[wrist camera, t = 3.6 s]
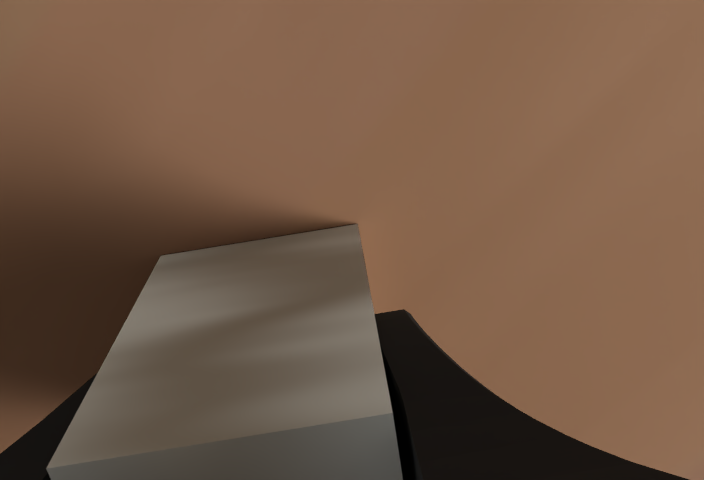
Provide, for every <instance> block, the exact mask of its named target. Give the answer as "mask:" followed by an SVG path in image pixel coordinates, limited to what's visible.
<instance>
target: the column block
mask: <svg viewBox="0 0 704 480" xmlns="http://www.w3.org/2000/svg"><path fill="white" fill-rule="evenodd" d="M46 469H47V471H48V474H49V476H50V478H51V480H403V477H402V470H401V464H400V457H399V451H398V444H397V438H396V431H395V425H394V418H393V412H392V407H391V401H390V396H389V390H388V385H387V380H386V374H385V369H384V363H383V358H382V353H381V347H380V342H379V336H378V331H377V326H376V320H375V315H374V310H373V304H372V299H371V293H370V288H369V283H368V277H367V272H366V266H365V261H364V256H363V250H362V245H361V239H360V234H359V229H358V224H354V225H348V226H342V227H336V228H330V229H323V230H317V231H311V232H305V233H299V234H292V235H286V236H280V237H274V238H268V239H261V240H255V241H249V242H243V243H237V244H231V245H224V246H218V247H212V248H206V249H200V250H193V251H187V252H181V253H175V254H169V255H163V256H160V258H159V260H158V262H157V264H156V265H155V267H154V269H153V271H152V273H151V275H150V277H149V278H148V280H147V282H146V284H145V286H144V288H143V290H142V291H141V293H140V295H139V297H138V299H137V301H136V303H135V304H134V306H133V308H132V310H131V312H130V314H129V316H128V317H127V319H126V321H125V323H124V325H123V327H122V329H121V330H120V332H119V334H118V336H117V338H116V340H115V342H114V344H113V345H112V347H111V349H110V351H109V353H108V355H107V357H106V358H105V360H104V362H103V364H102V366H101V368H100V370H99V371H98V373H97V375H96V377H95V379H94V381H93V383H92V384H91V386H90V388H89V390H88V392H87V394H86V396H85V397H84V399H83V401H82V403H81V405H80V407H79V409H78V410H77V412H76V414H75V416H74V418H73V420H72V422H71V424H70V425H69V427H68V429H67V431H66V433H65V435H64V437H63V438H62V440H61V442H60V444H59V446H58V448H57V450H56V451H55V453H54V455H53V457H52V459H51V461H50V463H49V464H48V466H47V468H46Z"/></svg>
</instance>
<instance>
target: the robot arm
mask: <svg viewBox="0 0 704 480" xmlns="http://www.w3.org/2000/svg"><path fill="white" fill-rule="evenodd" d="M374 315H375V320H376V326H377V331H378V336H379V342H380V347H381V353H382V358H383V363H384V369H385V374H386V380H387V385H388V390H389V396H390V401H391V407H392V412H393V418H394V425H395V431H396V438H397V444H398V451H399V457H400V464H401V470H402V477H403V480H689V479H685V478H682V477H679V476H676V475H672V474H669V473H666V472H663V471H659V470H656V469H653V468H649V467H646V466H643V465H640V464H636V463H633V462H630V461H628V460H625V459H622V458H620V457H617V456H615V455H612V454H610V453H607V452H604V451H602V450H599V449H597V448H594V447H592V446H589V445H587V444H585V443H583V442H580V441H578V440H576V439H573V438H571V437H569V436H567V435H565V434H563V433H561V432H559V431H557V430H555V429H553V428H551V427H549V426H547V425H545V424H543V423H541V422H539V421H537V420H535V419H534V418H532V417H530V416H528V415H527V414H525V413H523V412H521V411H520V410H518V409H516V408H515V407H513V406H512V405H510V404H509V403H507V402H506V401H504V400H502V399H501V398H500V397H498V396H497V395H495V394H494V393H493V392H491V391H490V390H488V389H487V388H486V387H484V386H483V385H482V384H481V383H479V382H478V381H477V380H476V379H474V378H473V377H472V376H471V375H469V374H468V373H467V372H466V371H465V370H464V369H462V368H461V367H460V366H459V365H458V364H457V363H456V362H455V361H454V360H452V359H451V358H450V357H449V356H448V355H447V354H446V353H445V352H444V351H443V350H442V349H441V348H440V347H439V346H438V345H437V344H436V343H435V342H434V341H433V340H432V339H431V338H430V337H429V336H428V335H427V334H426V333H425V331H424V330H423V329H422V328H421V327H420V326H419V325H418V323H417V322H416V321H415V320H414V318H413V317H412V315H411V314H410V313H408V312H407V311H406V310H398V311H391V312H385V313H379V314H374ZM96 375H97V374H95V375H94V376H93V377H92V378H91V379H90V380H88V381H87V382H86V383H85V384H84V385H83V386H82V387H80V388H79V389H78V390H77V391H76V392H75V393H73V394H72V395H71V396H70V397H69V398H68V399H67V400H65V401H64V402H63V403H62V404H61V405H60V406H58V407H57V408H56V409H55V410H54V411H53V412H51V413H50V414H49V415H48V416H47V417H46V418H44V419H43V420H42V421H41V422H40V423H38V424H37V425H36V426H35V427H33V428H32V429H31V430H30V431H28V432H27V433H26V434H25V435H23V436H22V437H21V438H20V439H18V440H17V441H16V442H15V443H13V444H12V445H11V446H10V447H8V448H7V449H6V450H5V451H3V452H2V453H1V454H0V480H51V478H50V476H49V474H48V471H47V469H46V468H47V466H48V464H49V463H50V461H51V459H52V457H53V455H54V453H55V451H56V450H57V448H58V446H59V444H60V442H61V440H62V438H63V437H64V435H65V433H66V431H67V429H68V427H69V425H70V424H71V422H72V420H73V418H74V416H75V414H76V412H77V410H78V409H79V407H80V405H81V403H82V401H83V399H84V397H85V396H86V394H87V392H88V390H89V388H90V386H91V384H92V383H93V381H94V379H95V377H96Z"/></svg>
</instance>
